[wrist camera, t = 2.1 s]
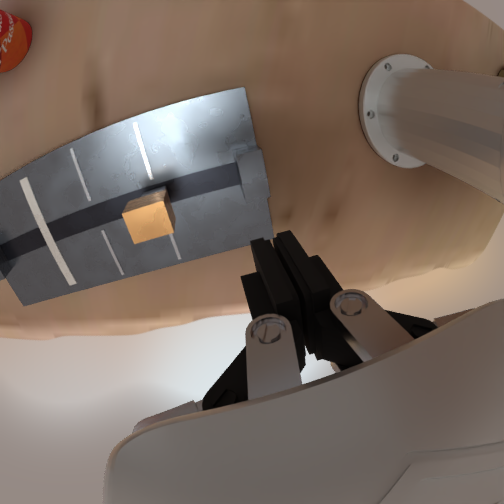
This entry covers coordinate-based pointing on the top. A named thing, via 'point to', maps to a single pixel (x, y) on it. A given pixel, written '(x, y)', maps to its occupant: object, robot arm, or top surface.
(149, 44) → the top surface
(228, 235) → the grey slider board
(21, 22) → the paper cup
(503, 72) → the squeeze bottle
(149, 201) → the fader tab
